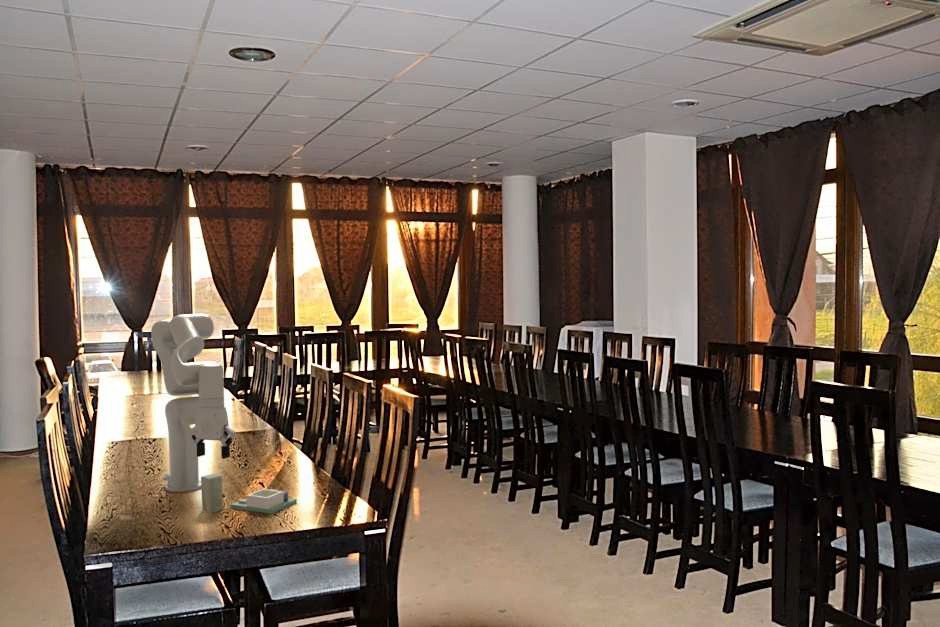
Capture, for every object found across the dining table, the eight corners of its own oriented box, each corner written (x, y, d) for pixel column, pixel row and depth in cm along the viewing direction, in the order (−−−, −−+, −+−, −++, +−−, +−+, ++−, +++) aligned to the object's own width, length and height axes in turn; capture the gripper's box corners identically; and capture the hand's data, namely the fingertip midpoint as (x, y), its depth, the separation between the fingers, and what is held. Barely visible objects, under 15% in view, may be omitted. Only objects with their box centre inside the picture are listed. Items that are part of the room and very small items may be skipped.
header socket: (246, 506, 258) (246, 495, 257) (264, 498, 266) (263, 488, 265) (267, 509, 254) (267, 498, 254) (284, 501, 262) (284, 490, 262)
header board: (230, 508, 260) (230, 496, 259) (256, 497, 271) (256, 486, 271) (272, 513, 253) (271, 502, 253) (296, 502, 265) (296, 491, 265)
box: (215, 507, 261) (215, 473, 260) (223, 509, 258) (222, 475, 257) (201, 510, 257) (200, 476, 256) (208, 513, 254) (208, 478, 253)
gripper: (181, 403, 256) (183, 457, 257) (226, 406, 249) (227, 461, 250) (198, 400, 263) (199, 452, 263) (241, 402, 256) (243, 456, 257)
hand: (213, 456), depth 257 cm, fingers open, 9 cm apart
